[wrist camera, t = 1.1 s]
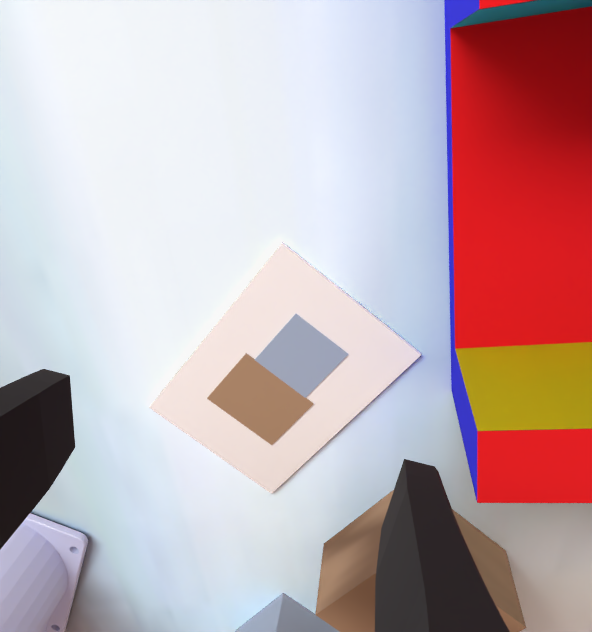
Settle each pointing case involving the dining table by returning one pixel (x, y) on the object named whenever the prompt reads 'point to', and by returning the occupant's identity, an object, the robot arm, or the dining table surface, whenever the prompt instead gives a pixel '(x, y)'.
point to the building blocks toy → (521, 244)
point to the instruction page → (283, 371)
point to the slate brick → (285, 618)
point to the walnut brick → (361, 563)
